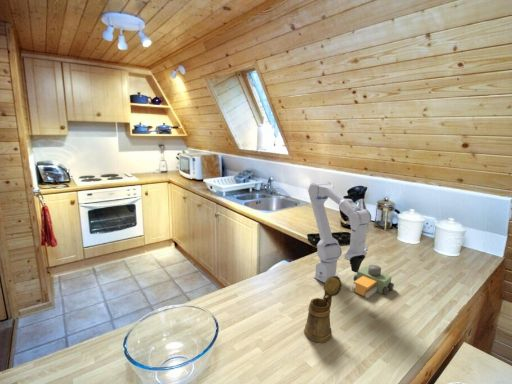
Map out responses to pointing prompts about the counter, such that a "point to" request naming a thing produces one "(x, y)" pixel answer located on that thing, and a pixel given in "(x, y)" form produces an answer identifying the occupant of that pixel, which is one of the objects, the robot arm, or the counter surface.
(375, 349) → the counter surface
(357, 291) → the orange slab
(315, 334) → the wooden mug
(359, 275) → the mower housing
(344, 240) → the egg carton
